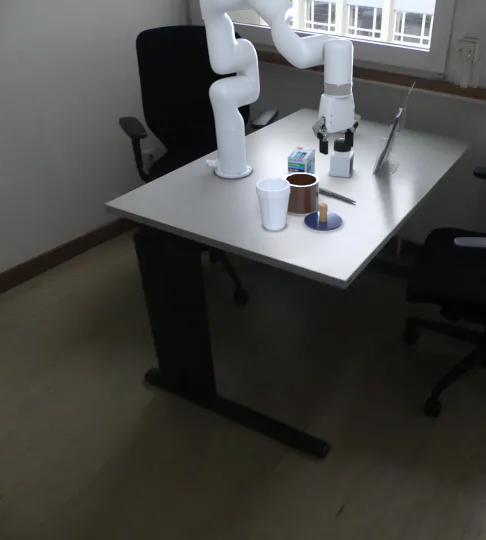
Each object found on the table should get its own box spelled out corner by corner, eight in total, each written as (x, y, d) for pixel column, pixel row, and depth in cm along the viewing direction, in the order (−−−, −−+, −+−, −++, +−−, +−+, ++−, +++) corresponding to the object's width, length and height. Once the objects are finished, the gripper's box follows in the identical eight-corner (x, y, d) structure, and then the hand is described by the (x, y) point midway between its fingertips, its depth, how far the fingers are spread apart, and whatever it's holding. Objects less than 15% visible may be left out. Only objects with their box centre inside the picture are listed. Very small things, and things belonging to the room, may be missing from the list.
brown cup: (283, 215, 159) (283, 186, 154) (284, 200, 168) (284, 172, 163) (318, 215, 160) (318, 186, 155) (317, 200, 168) (318, 172, 163)
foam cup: (291, 218, 158) (290, 177, 151) (290, 233, 150) (289, 191, 143) (259, 218, 157) (257, 177, 150) (256, 233, 150) (254, 191, 143)
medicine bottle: (349, 177, 184) (351, 144, 178) (329, 175, 186) (330, 142, 179) (352, 170, 190) (354, 137, 184) (333, 168, 191) (334, 135, 185)
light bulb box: (307, 190, 175) (307, 159, 169) (287, 188, 176) (286, 157, 170) (315, 178, 184) (315, 148, 178) (296, 175, 185) (296, 145, 179)
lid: (304, 232, 151) (304, 213, 148) (304, 214, 160) (304, 196, 157) (343, 232, 151) (344, 213, 148) (341, 214, 161) (341, 196, 157)
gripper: (351, 81, 151) (349, 140, 160) (304, 91, 141) (304, 152, 150) (370, 86, 146) (367, 146, 155) (322, 96, 136) (322, 160, 146)
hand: (336, 149), depth 153 cm, fingers open, 9 cm apart
